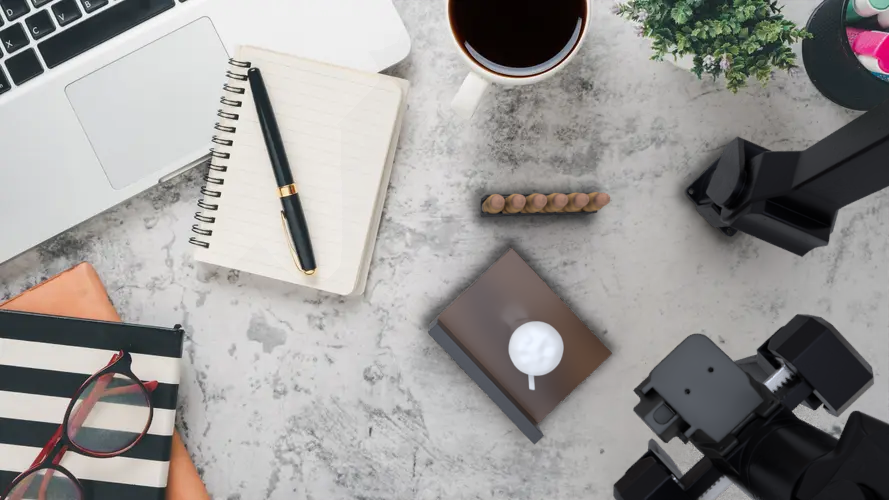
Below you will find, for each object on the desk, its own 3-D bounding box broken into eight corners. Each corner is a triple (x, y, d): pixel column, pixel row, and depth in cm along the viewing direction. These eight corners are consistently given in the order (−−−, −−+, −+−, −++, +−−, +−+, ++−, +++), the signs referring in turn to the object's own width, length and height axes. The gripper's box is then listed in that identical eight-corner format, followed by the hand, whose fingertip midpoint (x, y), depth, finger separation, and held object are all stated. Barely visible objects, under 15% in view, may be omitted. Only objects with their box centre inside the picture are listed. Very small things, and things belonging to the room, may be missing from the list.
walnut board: (509, 247, 65) (516, 248, 59) (606, 349, 65) (623, 361, 59) (429, 323, 65) (427, 332, 59) (526, 424, 65) (534, 444, 59)
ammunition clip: (588, 196, 65) (619, 186, 53) (588, 214, 65) (619, 209, 53) (480, 198, 65) (487, 188, 53) (481, 216, 65) (488, 211, 53)
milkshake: (495, 361, 63) (504, 384, 53) (506, 307, 63) (517, 319, 53) (541, 370, 63) (559, 395, 53) (552, 316, 63) (572, 330, 53)
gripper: (821, 260, 38) (712, 254, 53) (583, 481, 38) (544, 411, 53) (953, 401, 38) (805, 354, 53) (715, 621, 38) (637, 510, 53)
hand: (695, 405), depth 53 cm, fingers open, 9 cm apart
